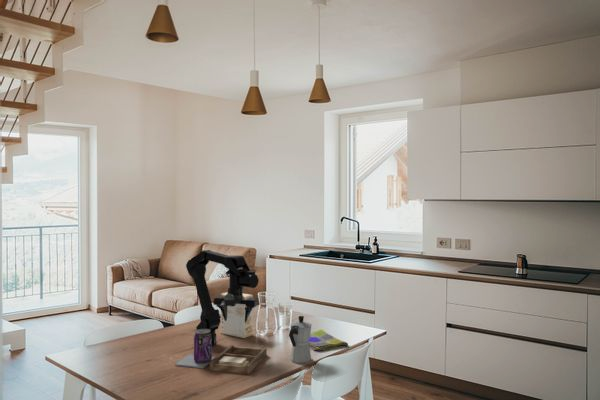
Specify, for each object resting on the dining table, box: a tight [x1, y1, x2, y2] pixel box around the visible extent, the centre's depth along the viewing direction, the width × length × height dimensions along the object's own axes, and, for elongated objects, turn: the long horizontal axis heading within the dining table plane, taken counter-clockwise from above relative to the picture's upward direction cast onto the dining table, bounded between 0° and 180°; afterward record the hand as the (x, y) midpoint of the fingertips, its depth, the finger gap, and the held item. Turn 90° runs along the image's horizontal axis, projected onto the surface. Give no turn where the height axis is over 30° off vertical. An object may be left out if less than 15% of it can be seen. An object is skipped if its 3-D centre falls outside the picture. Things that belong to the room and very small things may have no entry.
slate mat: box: [174, 353, 217, 369], centre depth 191 cm, size 12×12×1 cm
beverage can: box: [193, 329, 213, 363], centre depth 190 cm, size 7×7×12 cm
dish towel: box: [308, 329, 349, 352], centre depth 219 cm, size 18×24×3 cm
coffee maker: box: [288, 315, 312, 364], centre depth 193 cm, size 15×9×18 cm, turn 150°
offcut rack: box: [209, 344, 268, 375], centre depth 191 cm, size 16×22×3 cm
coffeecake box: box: [220, 291, 254, 339], centre depth 229 cm, size 15×7×20 cm, turn 58°
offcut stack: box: [219, 356, 249, 366], centre depth 185 cm, size 11×6×4 cm, turn 78°
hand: (235, 321), depth 203 cm, fingers open, 9 cm apart
